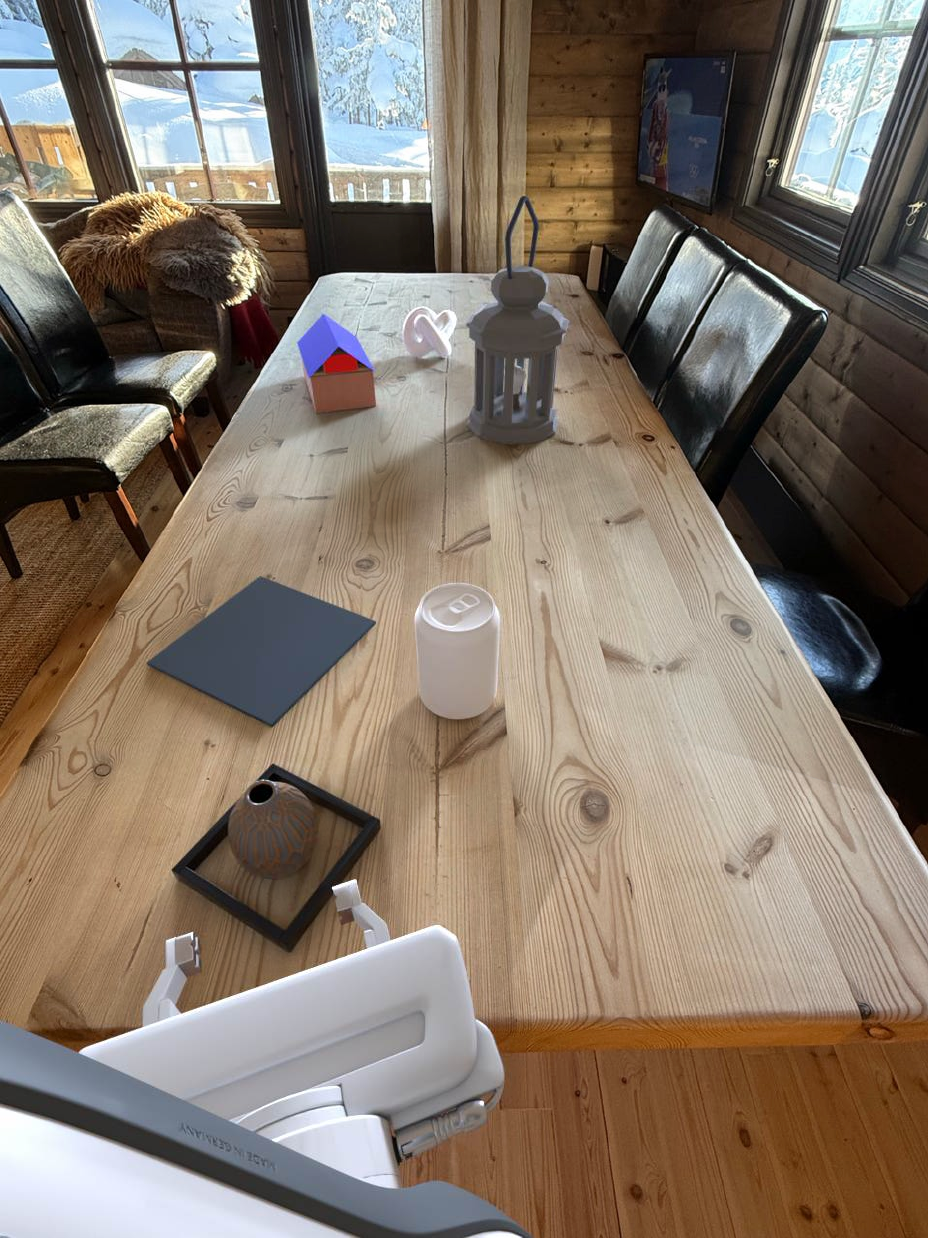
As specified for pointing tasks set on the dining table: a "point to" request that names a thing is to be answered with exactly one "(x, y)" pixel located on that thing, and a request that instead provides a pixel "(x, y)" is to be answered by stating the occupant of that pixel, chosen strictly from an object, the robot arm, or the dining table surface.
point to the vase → (272, 829)
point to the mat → (263, 648)
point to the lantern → (516, 352)
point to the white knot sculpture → (428, 332)
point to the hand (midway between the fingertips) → (266, 912)
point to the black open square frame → (322, 893)
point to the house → (336, 368)
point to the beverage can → (457, 650)
